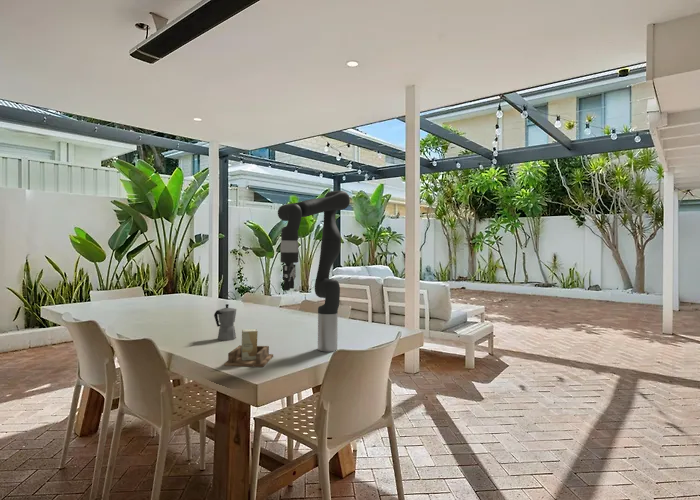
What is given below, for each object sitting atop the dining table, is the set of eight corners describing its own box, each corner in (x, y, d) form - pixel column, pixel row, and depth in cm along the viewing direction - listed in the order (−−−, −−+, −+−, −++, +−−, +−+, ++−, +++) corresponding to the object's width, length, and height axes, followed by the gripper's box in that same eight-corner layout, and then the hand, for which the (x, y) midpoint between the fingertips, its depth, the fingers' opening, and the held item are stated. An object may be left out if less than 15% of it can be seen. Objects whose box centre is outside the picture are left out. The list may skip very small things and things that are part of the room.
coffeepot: (228, 335, 234) (228, 302, 234) (242, 337, 230) (242, 303, 229) (207, 341, 220) (207, 305, 220) (221, 343, 216) (221, 306, 216)
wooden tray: (237, 355, 193) (237, 344, 193) (273, 356, 191) (273, 345, 191) (224, 365, 177) (224, 353, 177) (263, 366, 175) (263, 354, 175)
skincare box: (241, 361, 180) (242, 331, 180) (241, 358, 184) (241, 329, 184) (257, 359, 182) (257, 330, 182) (256, 357, 186) (256, 328, 186)
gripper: (294, 251, 178) (294, 291, 178) (301, 251, 192) (301, 288, 192) (276, 251, 178) (276, 291, 179) (284, 251, 192) (284, 287, 193)
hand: (289, 289), depth 185 cm, fingers open, 8 cm apart
